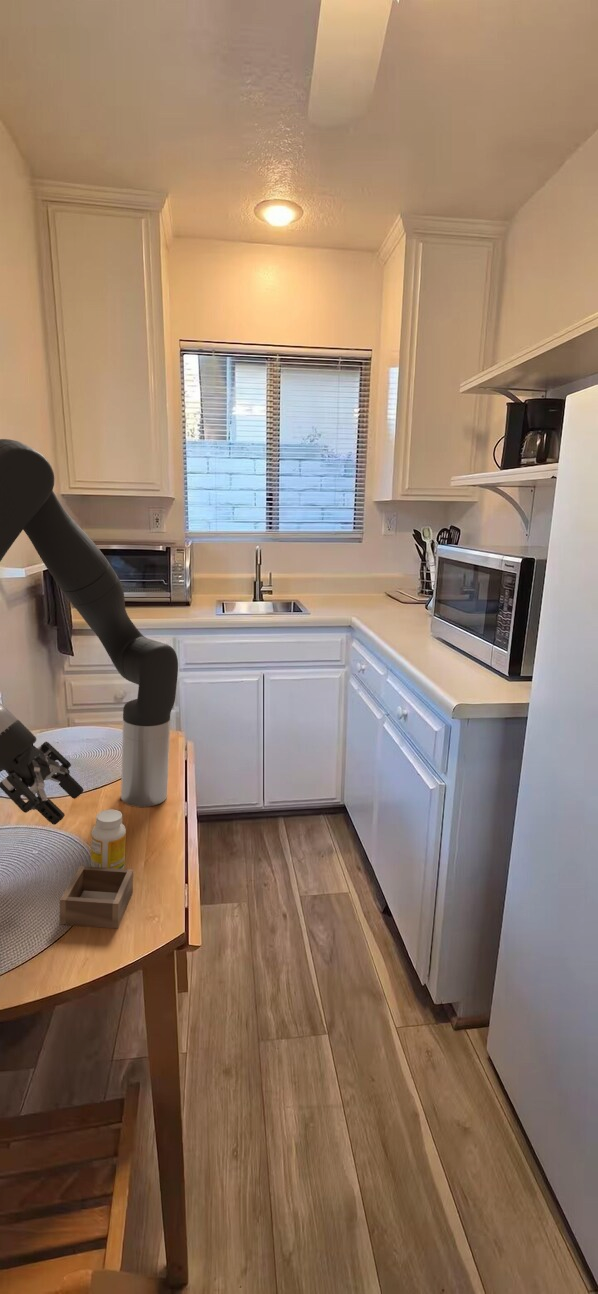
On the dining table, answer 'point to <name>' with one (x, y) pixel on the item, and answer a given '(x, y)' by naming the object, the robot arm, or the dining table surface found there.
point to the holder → (96, 897)
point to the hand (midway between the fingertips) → (70, 807)
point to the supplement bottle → (108, 840)
